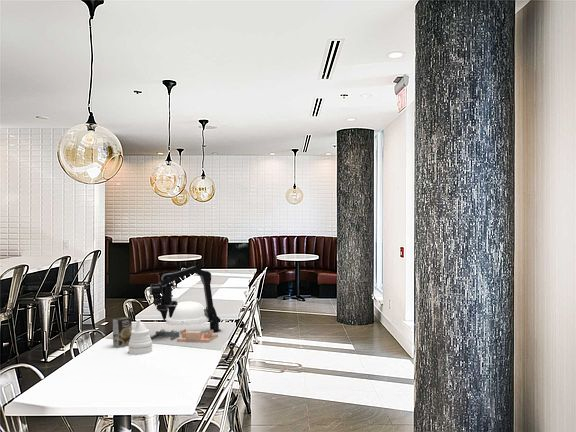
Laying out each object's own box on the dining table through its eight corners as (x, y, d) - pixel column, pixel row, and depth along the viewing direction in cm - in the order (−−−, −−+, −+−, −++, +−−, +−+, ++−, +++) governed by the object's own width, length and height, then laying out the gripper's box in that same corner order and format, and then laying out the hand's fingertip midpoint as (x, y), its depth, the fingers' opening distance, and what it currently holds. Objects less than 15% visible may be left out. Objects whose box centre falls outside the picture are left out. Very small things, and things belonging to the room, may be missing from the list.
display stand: (187, 335, 351) (187, 327, 351) (217, 336, 346) (217, 327, 346) (177, 341, 335) (176, 332, 335) (208, 342, 331) (207, 333, 331)
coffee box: (119, 347, 323) (118, 320, 323) (112, 346, 327) (112, 319, 327) (132, 344, 330) (131, 317, 330) (125, 343, 334) (125, 316, 334)
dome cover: (204, 325, 383) (204, 305, 383) (161, 326, 384) (160, 306, 384) (211, 317, 415) (211, 298, 415) (171, 318, 416) (171, 299, 416)
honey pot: (146, 354, 305) (145, 321, 305) (124, 354, 307) (123, 321, 307) (156, 349, 317) (155, 317, 317) (135, 348, 320) (134, 317, 320)
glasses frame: (157, 335, 353) (157, 329, 353) (179, 336, 350) (179, 329, 350) (149, 339, 343) (149, 332, 343) (172, 340, 339) (172, 333, 339)
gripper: (161, 291, 360) (162, 315, 360) (148, 295, 342) (148, 321, 342) (177, 291, 358) (178, 316, 358) (165, 296, 340) (165, 321, 340)
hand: (167, 318), depth 349 cm, fingers open, 9 cm apart
